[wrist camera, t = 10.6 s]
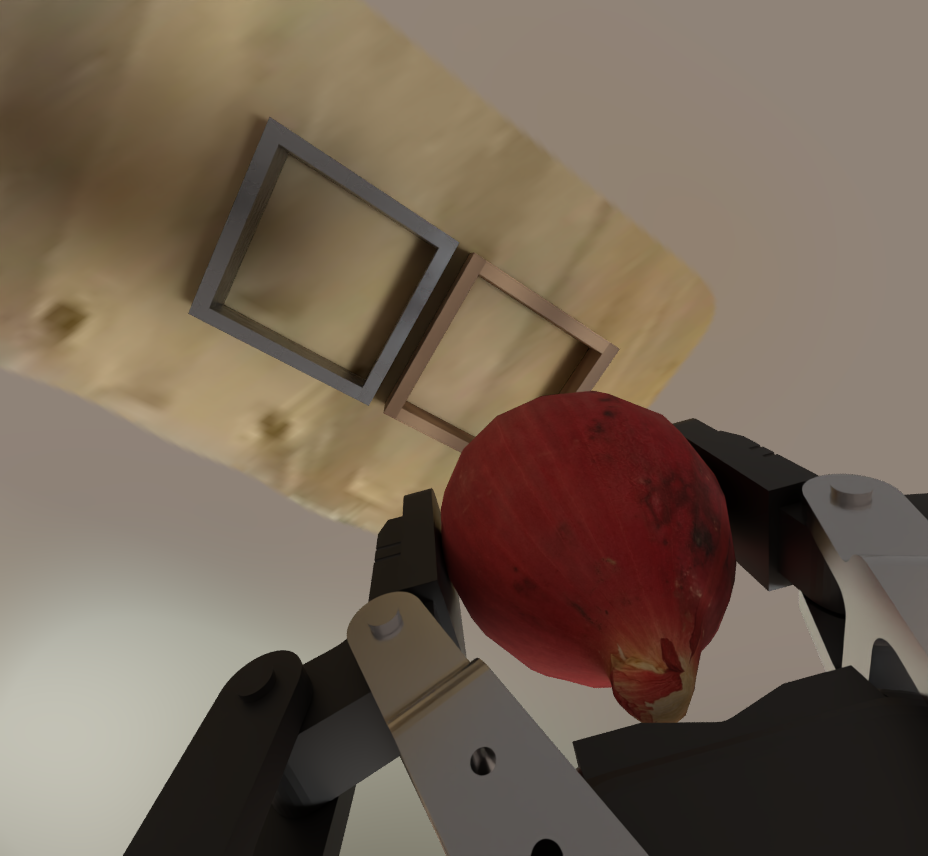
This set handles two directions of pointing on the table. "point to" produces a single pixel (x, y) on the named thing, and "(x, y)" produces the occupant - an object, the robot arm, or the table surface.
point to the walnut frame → (473, 267)
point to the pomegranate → (592, 547)
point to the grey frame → (239, 236)
